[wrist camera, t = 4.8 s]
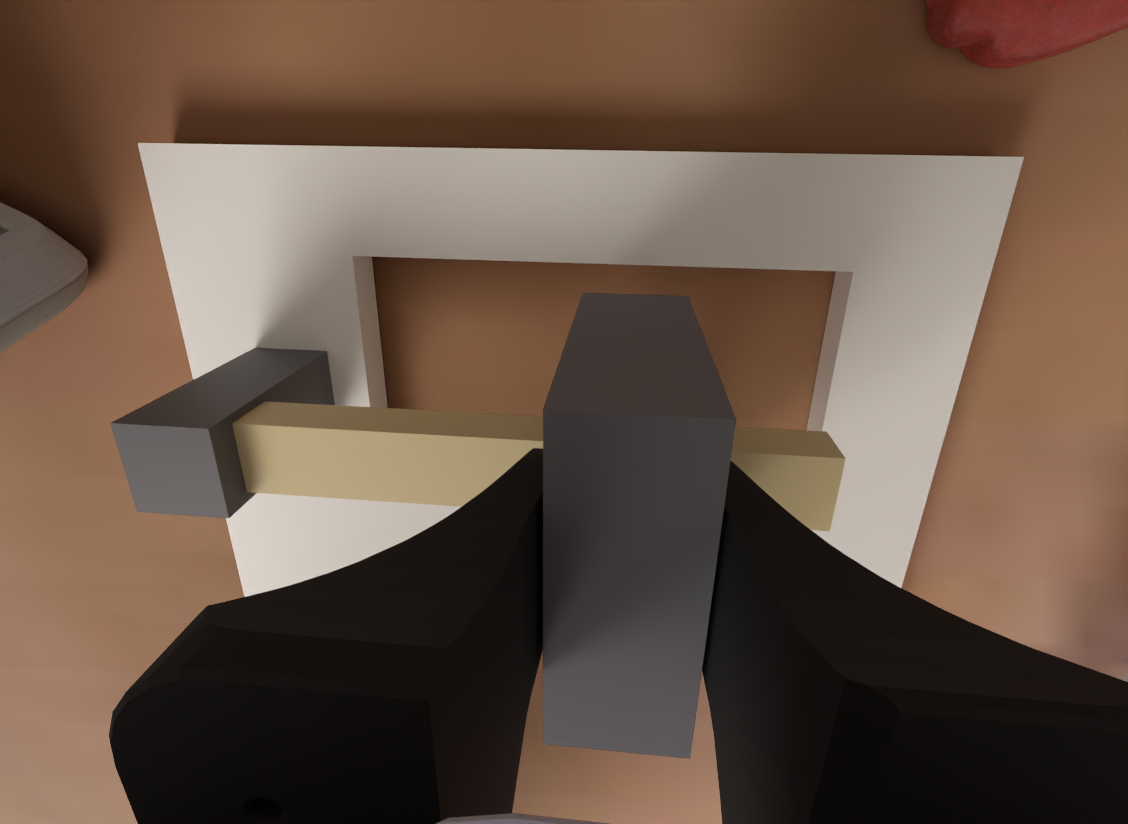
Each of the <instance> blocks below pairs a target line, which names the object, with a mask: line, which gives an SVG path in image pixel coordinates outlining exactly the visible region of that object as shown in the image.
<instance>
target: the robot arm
mask: <svg viewBox="0 0 1128 824" xmlns="http://www.w3.org/2000/svg"><path fill="white" fill-rule="evenodd" d="M542 650H543V449H541V448H533V449H532V450H530V451H529V452H528V453H527V454H526V455H524V456H523V457H522V458H521V459H520V460H519V461H518V462H516V463H515V464H514V465H513V466H512V467H511V468H510V469H509V470H507V471H506V472H505V473H504V474H503V475H502V476H501V477H499V478H498V479H497V480H496V481H495V482H493V483H492V484H491V485H490V486H489V487H487V488H486V489H485V490H484V491H482V492H481V493H480V494H478V495H477V496H476V497H474V498H473V499H471V500H470V501H469V502H467V503H466V504H465V505H463V506H462V507H460V508H459V509H458V510H456V511H455V512H453V513H452V514H450V515H449V516H447V517H446V518H444V519H443V520H441V521H439V522H438V523H436V524H434V525H433V526H431V527H429V528H427V529H426V530H424V531H422V532H420V533H418V534H417V535H415V536H413V537H411V538H409V539H407V540H405V541H403V542H401V543H399V544H397V545H394V546H392V547H390V548H388V549H386V550H383V551H381V552H379V553H377V554H374V555H372V556H370V557H368V558H366V559H363V560H361V561H359V562H356V563H354V564H351V565H348V566H346V567H343V568H340V569H338V570H335V571H332V572H329V573H327V574H324V575H321V576H317V577H314V578H311V579H308V580H305V581H302V582H299V583H296V584H292V585H289V586H286V587H282V588H278V589H274V590H271V591H267V592H263V593H259V594H255V595H251V596H247V597H243V598H239V599H235V600H231V601H227V602H223V603H218V604H214V605H209V606H207V607H206V608H205V609H204V610H203V611H202V612H201V613H200V614H199V615H198V616H197V617H196V618H195V619H194V620H193V621H192V622H191V623H190V624H189V625H188V626H187V627H186V629H185V630H184V631H183V632H182V633H181V634H180V635H179V636H178V637H177V638H176V639H175V640H174V641H173V642H172V644H171V645H170V646H169V647H168V648H167V649H166V650H165V651H164V652H163V653H162V654H161V655H160V656H159V657H158V658H157V660H156V661H155V662H154V663H153V664H152V665H151V666H150V667H149V668H148V669H147V670H146V671H145V672H144V673H143V675H142V676H141V677H140V678H139V679H138V680H137V681H136V682H135V683H134V684H133V685H132V686H131V687H130V688H129V689H128V691H127V692H126V693H125V694H124V696H123V697H122V699H121V700H120V702H119V703H118V705H117V706H116V708H115V709H114V711H113V714H112V720H111V726H110V732H109V738H110V744H111V748H112V753H113V757H114V762H115V766H116V769H117V772H118V774H119V777H120V779H121V782H122V784H123V787H124V789H125V792H126V794H127V797H128V800H129V802H130V805H131V807H132V810H133V812H134V815H135V817H136V820H137V822H138V824H608V823H599V822H590V821H581V820H572V819H563V818H554V817H544V816H535V815H526V814H517V813H512V808H513V801H514V795H515V788H516V781H517V774H518V768H519V761H520V755H521V748H522V742H523V735H524V729H525V722H526V716H527V711H528V707H529V702H530V697H531V692H532V688H533V685H534V681H535V677H536V673H537V669H538V665H539V661H540V658H541V654H542ZM702 672H703V676H704V681H705V686H706V691H707V696H708V701H709V706H710V712H711V718H712V724H713V731H714V739H715V749H716V759H717V769H718V779H719V790H720V800H721V812H722V823H723V824H1128V682H1126V681H1123V680H1120V679H1117V678H1114V677H1112V676H1109V675H1106V674H1103V673H1100V672H1098V671H1095V670H1092V669H1089V668H1086V667H1084V666H1081V665H1078V664H1075V663H1072V662H1069V661H1067V660H1064V659H1061V658H1058V657H1055V656H1053V655H1050V654H1047V653H1044V652H1041V651H1038V650H1036V649H1033V648H1030V647H1028V646H1025V645H1023V644H1020V643H1018V642H1015V641H1013V640H1011V639H1008V638H1006V637H1004V636H1001V635H999V634H997V633H994V632H992V631H989V630H987V629H985V628H982V627H980V626H978V625H975V624H973V623H971V622H968V621H966V620H964V619H962V618H960V617H958V616H956V615H953V614H951V613H949V612H947V611H945V610H943V609H941V608H938V607H936V606H935V605H933V604H931V603H929V602H927V601H925V600H923V599H921V598H919V597H917V596H915V595H913V594H911V593H909V592H908V591H906V590H904V589H902V588H900V587H898V586H896V585H894V584H893V583H891V582H889V581H887V580H886V579H884V578H882V577H880V576H879V575H877V574H875V573H874V572H872V571H870V570H869V569H867V568H866V567H864V566H862V565H861V564H859V563H858V562H856V561H855V560H853V559H851V558H850V557H848V556H847V555H845V554H843V553H842V552H841V551H839V550H838V549H836V548H835V547H833V546H832V545H830V544H829V543H828V542H826V541H825V540H824V539H822V538H821V537H820V536H818V535H817V534H816V533H814V532H813V531H812V530H810V529H809V528H808V527H806V526H805V525H804V524H802V523H801V522H800V521H799V520H797V519H796V518H795V517H794V516H793V515H791V514H790V513H789V512H788V511H787V510H785V509H784V508H783V507H782V506H781V505H780V504H778V503H777V502H776V501H775V500H774V499H773V498H772V497H770V496H769V495H768V494H767V493H766V492H765V491H764V490H763V489H762V488H761V487H759V486H758V485H757V484H756V483H755V482H754V481H753V480H752V479H751V478H750V477H749V476H748V475H746V474H745V473H744V472H743V471H742V470H741V469H740V468H739V467H738V466H737V465H736V464H734V463H733V462H732V461H730V468H729V476H728V483H727V490H726V498H725V505H724V512H723V520H722V527H721V534H720V542H719V549H718V556H717V564H716V571H715V578H714V586H713V593H712V600H711V608H710V615H709V622H708V630H707V637H706V644H705V652H704V659H703V666H702Z"/></svg>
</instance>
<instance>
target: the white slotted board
mask: <svg viewBox="0 0 1128 824" xmlns="http://www.w3.org/2000/svg"><path fill="white" fill-rule="evenodd" d="M138 147H139V151H140V156H141V160H142V164H143V168H144V173H145V177H146V181H147V185H148V190H149V194H150V198H151V202H152V206H153V211H154V215H155V219H156V223H157V228H158V232H159V236H160V240H161V245H162V249H163V253H164V257H165V262H166V266H167V270H168V274H169V279H170V283H171V287H172V291H173V296H174V300H175V304H176V308H177V313H178V317H179V321H180V325H181V330H182V334H183V338H184V342H185V347H186V351H187V355H188V359H189V364H190V368H191V372H192V376H193V380H192V381H190V382H188V383H187V384H185V385H183V386H181V387H179V388H177V389H175V390H173V391H171V392H169V393H167V394H165V395H164V396H162V397H160V398H158V399H156V400H154V401H152V402H150V403H148V404H146V405H144V406H142V407H141V408H139V409H137V410H135V411H133V412H131V413H129V414H127V415H125V416H123V417H121V418H119V419H118V420H116V421H114V422H112V423H111V427H112V430H113V433H114V437H115V440H116V443H117V447H118V450H119V453H120V457H121V460H122V463H123V467H124V470H125V473H126V477H127V480H128V483H129V487H130V490H131V493H132V497H133V500H134V503H135V507H136V510H137V512H147V513H161V514H175V515H189V516H204V517H218V518H226V521H227V525H228V529H229V533H230V538H231V542H232V546H233V550H234V555H235V559H236V563H237V567H238V572H239V576H240V580H241V584H242V589H243V593H244V597H247V596H251V595H255V594H259V593H263V592H267V591H271V590H274V589H278V588H282V587H286V586H289V585H292V584H296V583H299V582H302V581H305V580H308V579H311V578H314V577H317V576H321V575H324V574H327V573H329V572H332V571H335V570H338V569H340V568H343V567H346V566H348V565H351V564H354V563H356V562H359V561H361V560H363V559H366V558H368V557H370V556H372V555H374V554H377V553H379V552H381V551H383V550H386V549H388V548H390V547H392V546H394V545H397V544H399V543H401V542H403V541H405V540H407V539H409V538H411V537H413V536H415V535H417V534H418V533H420V532H422V531H424V530H426V529H427V528H429V527H431V526H433V525H434V524H436V523H438V522H439V521H441V520H443V519H444V518H446V517H447V516H449V515H450V514H452V513H453V512H455V511H456V510H458V509H459V508H460V507H462V506H463V505H465V504H466V503H467V502H469V501H470V500H471V499H473V498H474V497H476V496H477V495H478V494H480V493H481V492H482V491H484V490H485V489H486V488H487V487H489V486H490V485H491V484H492V483H493V482H495V481H496V480H497V479H498V478H499V477H501V476H502V475H503V474H504V473H505V472H506V471H507V470H509V469H510V468H511V467H512V466H513V465H514V464H515V463H516V462H518V461H519V460H520V459H521V458H522V457H523V456H524V455H526V454H527V453H528V452H529V451H530V450H532V449H533V448H541V449H543V416H528V415H509V414H490V413H472V412H453V411H434V410H415V409H397V408H388V406H387V396H386V387H385V377H384V368H383V358H382V349H381V340H380V330H379V321H378V311H377V302H376V292H375V283H374V273H373V264H372V257H400V258H432V259H463V260H495V261H527V262H558V263H590V264H621V265H653V266H684V267H716V268H747V269H779V270H810V271H836V273H835V279H834V284H833V289H832V295H831V300H830V305H829V311H828V316H827V321H826V327H825V332H824V338H823V343H822V348H821V354H820V359H819V364H818V370H817V375H816V381H815V386H814V391H813V397H812V402H811V407H810V413H809V418H808V423H807V429H806V430H790V429H771V428H752V427H735V432H734V439H733V446H732V454H731V461H732V462H733V463H734V464H736V465H737V466H738V467H739V468H740V469H741V470H742V471H743V472H744V473H745V474H746V475H748V476H749V477H750V478H751V479H752V480H753V481H754V482H755V483H756V484H757V485H758V486H759V487H761V488H762V489H763V490H764V491H765V492H766V493H767V494H768V495H769V496H770V497H772V498H773V499H774V500H775V501H776V502H777V503H778V504H780V505H781V506H782V507H783V508H784V509H785V510H787V511H788V512H789V513H790V514H791V515H793V516H794V517H795V518H796V519H797V520H799V521H800V522H801V523H802V524H804V525H805V526H806V527H808V528H809V529H810V530H812V531H813V532H814V533H816V534H817V535H818V536H820V537H821V538H822V539H824V540H825V541H826V542H828V543H829V544H830V545H832V546H833V547H835V548H836V549H838V550H839V551H841V552H842V553H843V554H845V555H847V556H848V557H850V558H851V559H853V560H855V561H856V562H858V563H859V564H861V565H862V566H864V567H866V568H867V569H869V570H870V571H872V572H874V573H875V574H877V575H879V576H880V577H882V578H884V579H886V580H887V581H889V582H891V583H893V584H894V585H896V586H898V587H900V588H902V584H903V581H904V577H905V574H906V570H907V567H908V563H909V560H910V556H911V553H912V549H913V546H914V542H915V539H916V535H917V532H918V528H919V525H920V521H921V518H922V514H923V511H924V507H925V504H926V500H927V497H928V493H929V490H930V486H931V483H932V479H933V476H934V472H935V468H936V465H937V461H938V458H939V454H940V451H941V447H942V444H943V440H944V437H945V433H946V430H947V426H948V423H949V419H950V416H951V412H952V409H953V405H954V402H955V398H956V395H957V391H958V388H959V384H960V381H961V377H962V374H963V370H964V367H965V363H966V360H967V356H968V353H969V349H970V346H971V342H972V339H973V335H974V331H975V328H976V324H977V321H978V317H979V314H980V310H981V307H982V303H983V300H984V296H985V293H986V289H987V286H988V282H989V279H990V275H991V272H992V268H993V265H994V261H995V258H996V254H997V251H998V247H999V244H1000V240H1001V237H1002V233H1003V230H1004V226H1005V223H1006V219H1007V216H1008V212H1009V209H1010V205H1011V202H1012V198H1013V194H1014V191H1015V187H1016V184H1017V180H1018V177H1019V173H1020V170H1021V166H1022V163H1023V159H1024V157H997V156H934V155H871V154H808V153H745V152H682V151H619V150H556V149H493V148H430V147H367V146H304V145H241V144H178V143H138Z"/></svg>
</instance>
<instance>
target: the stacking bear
mask: <svg viewBox="0 0 1128 824" xmlns="http://www.w3.org/2000/svg"><path fill="white" fill-rule="evenodd" d="M925 1H926V4H927V29H928V32H929V34H930V36H931V38H932V39H933V40H934V41H936V42H938V43H939V44H941V45H943V46H945V47H949V48H959V49H960V50H962V52H963V53H964V55H965V56H966V57H967V58H968V59H969V60H970V61H971V62H973V63H975V64H978V65H981V66H985V67H989V68H1009V67H1013V66H1018V65H1023V64H1027V63H1031V62H1035V61H1038V60H1041V59H1044V58H1048V57H1051V56H1054V55H1057V54H1060V53H1063V52H1066V51H1069V50H1072V49H1074V48H1077V47H1079V46H1082V45H1085V44H1087V43H1090V42H1092V41H1095V40H1097V39H1100V38H1103V37H1105V36H1107V35H1110V34H1112V33H1115V32H1117V31H1119V30H1122V29H1124V28H1127V27H1128V0H925Z"/></svg>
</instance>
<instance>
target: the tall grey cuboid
mask: <svg viewBox="0 0 1128 824" xmlns="http://www.w3.org/2000/svg"><path fill="white" fill-rule="evenodd" d="M735 424H736V418H735V415H734V412H733V410H732V407H731V405H730V402H729V400H728V397H727V395H726V392H725V390H724V387H723V384H722V382H721V379H720V377H719V374H718V372H717V369H716V367H715V364H714V362H713V359H712V356H711V354H710V351H709V349H708V346H707V344H706V341H705V339H704V336H703V333H702V331H701V328H700V326H699V323H698V321H697V318H696V316H695V313H694V311H693V308H692V305H691V303H690V300H689V298H688V296H664V295H636V294H608V293H583V294H582V297H581V299H580V302H579V305H578V308H577V311H576V314H575V317H574V320H573V323H572V326H571V329H570V332H569V335H568V338H567V341H566V344H565V347H564V349H563V352H562V355H561V358H560V361H559V364H558V367H557V370H556V373H555V376H554V379H553V382H552V385H551V388H550V391H549V394H548V397H547V400H546V402H545V405H544V408H543V744H548V745H558V746H568V747H578V748H588V749H598V750H608V751H618V752H628V753H638V754H648V755H658V756H668V757H678V758H688V759H690V754H691V747H692V740H693V732H694V725H695V718H696V710H697V703H698V696H699V688H700V681H701V674H702V666H703V659H704V652H705V644H706V637H707V630H708V622H709V615H710V608H711V600H712V593H713V586H714V578H715V571H716V564H717V556H718V549H719V542H720V534H721V527H722V520H723V512H724V505H725V498H726V490H727V483H728V476H729V468H730V461H731V454H732V446H733V439H734V432H735Z"/></svg>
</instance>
